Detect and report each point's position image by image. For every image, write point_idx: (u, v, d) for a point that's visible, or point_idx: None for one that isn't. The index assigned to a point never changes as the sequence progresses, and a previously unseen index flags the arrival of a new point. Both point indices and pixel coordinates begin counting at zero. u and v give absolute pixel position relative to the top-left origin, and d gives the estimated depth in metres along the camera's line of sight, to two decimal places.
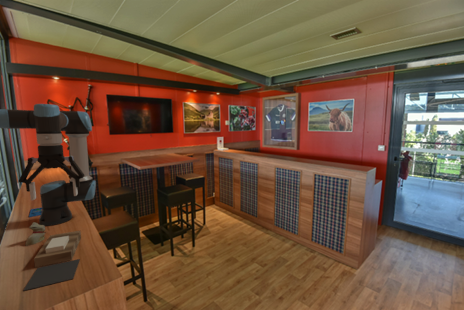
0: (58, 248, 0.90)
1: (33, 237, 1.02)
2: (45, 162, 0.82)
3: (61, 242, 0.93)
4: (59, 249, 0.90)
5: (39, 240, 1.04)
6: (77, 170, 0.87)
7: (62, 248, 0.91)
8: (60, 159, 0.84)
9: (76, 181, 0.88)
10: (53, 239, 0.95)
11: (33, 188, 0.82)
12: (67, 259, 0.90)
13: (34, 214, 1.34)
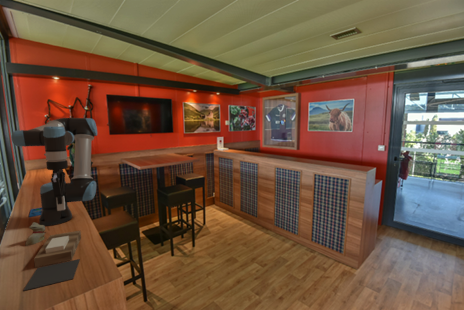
0: (58, 248, 0.90)
1: (33, 237, 1.02)
2: None
3: (61, 242, 0.93)
4: (59, 249, 0.90)
5: (39, 240, 1.04)
6: None
7: (62, 248, 0.91)
8: None
9: None
10: (53, 239, 0.95)
11: None
12: (67, 259, 0.90)
13: (34, 214, 1.34)
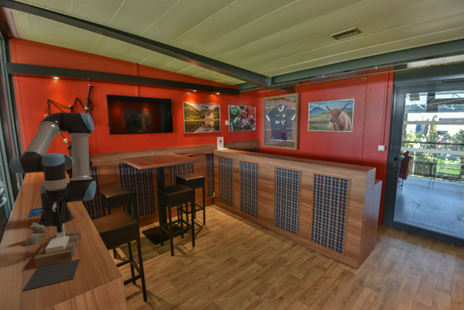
0: (58, 248, 0.90)
1: (33, 237, 1.02)
2: None
3: (61, 242, 0.93)
4: (59, 249, 0.90)
5: (39, 240, 1.04)
6: None
7: (62, 248, 0.91)
8: None
9: None
10: (53, 239, 0.95)
11: None
12: (67, 259, 0.90)
13: (34, 214, 1.34)
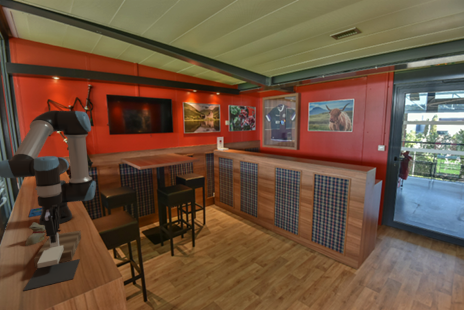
0: (52, 263, 0.82)
1: (33, 237, 1.02)
2: None
3: (54, 255, 0.85)
4: (52, 263, 0.82)
5: (39, 240, 1.04)
6: None
7: (56, 262, 0.82)
8: None
9: None
10: (46, 250, 0.87)
11: None
12: (67, 259, 0.90)
13: (34, 214, 1.34)
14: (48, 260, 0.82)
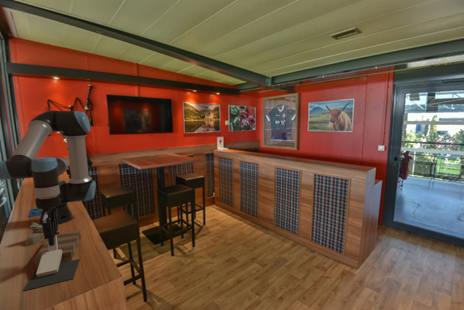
0: (51, 272, 0.81)
1: (33, 237, 1.02)
2: None
3: (53, 263, 0.83)
4: (52, 272, 0.81)
5: (39, 240, 1.04)
6: None
7: (55, 271, 0.82)
8: None
9: None
10: (44, 255, 0.85)
11: None
12: (67, 259, 0.90)
13: (34, 214, 1.34)
14: (47, 270, 0.80)
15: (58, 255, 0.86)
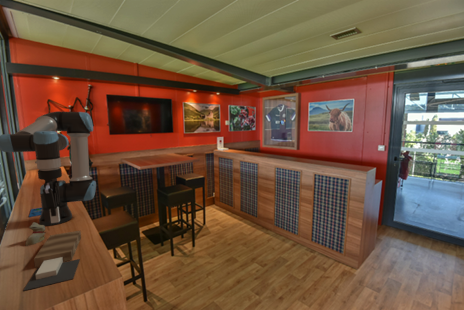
0: (51, 274, 0.80)
1: (33, 237, 1.02)
2: None
3: (53, 266, 0.83)
4: (51, 274, 0.80)
5: (39, 240, 1.04)
6: None
7: (55, 273, 0.81)
8: None
9: (51, 210, 0.90)
10: (45, 262, 0.85)
11: None
12: (67, 259, 0.90)
13: (34, 214, 1.34)
14: (47, 271, 0.80)
15: (59, 261, 0.86)
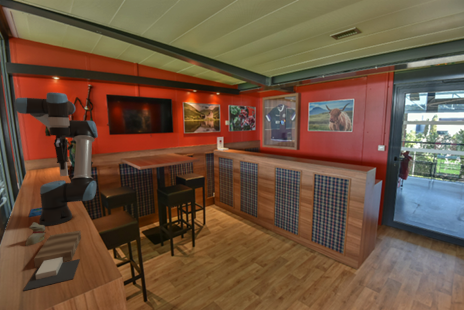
0: (51, 274, 0.80)
1: (33, 237, 1.02)
2: None
3: (53, 266, 0.83)
4: (51, 274, 0.80)
5: (39, 240, 1.04)
6: None
7: (55, 273, 0.81)
8: None
9: None
10: (45, 262, 0.85)
11: None
12: (67, 259, 0.90)
13: (34, 214, 1.34)
14: (47, 271, 0.80)
15: (59, 261, 0.86)
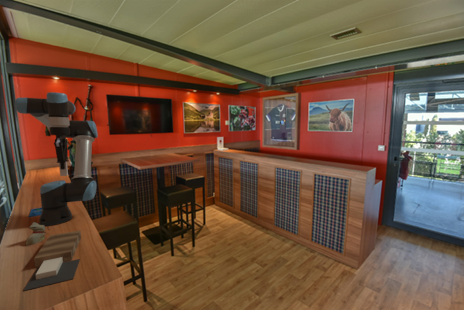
0: (51, 274, 0.80)
1: (33, 237, 1.02)
2: None
3: (53, 266, 0.83)
4: (51, 274, 0.80)
5: (39, 240, 1.04)
6: None
7: (55, 273, 0.81)
8: None
9: None
10: (45, 262, 0.85)
11: None
12: (67, 259, 0.90)
13: (34, 214, 1.34)
14: (47, 271, 0.80)
15: (59, 261, 0.86)
